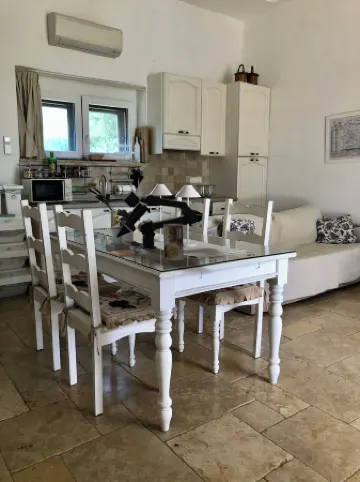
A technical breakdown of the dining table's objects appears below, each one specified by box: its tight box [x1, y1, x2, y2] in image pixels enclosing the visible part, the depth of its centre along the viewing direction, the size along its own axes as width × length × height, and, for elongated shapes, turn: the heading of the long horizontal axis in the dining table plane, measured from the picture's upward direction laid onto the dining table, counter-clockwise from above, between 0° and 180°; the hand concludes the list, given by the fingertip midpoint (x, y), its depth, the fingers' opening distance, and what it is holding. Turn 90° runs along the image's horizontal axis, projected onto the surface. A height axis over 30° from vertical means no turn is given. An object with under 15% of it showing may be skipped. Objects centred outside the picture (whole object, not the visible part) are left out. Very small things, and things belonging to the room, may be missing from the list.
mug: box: [117, 222, 135, 243], centre depth 233 cm, size 10×7×12 cm, turn 122°
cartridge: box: [111, 225, 123, 246], centre depth 211 cm, size 5×5×12 cm
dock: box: [105, 242, 136, 258], centre depth 207 cm, size 19×12×3 cm, turn 39°
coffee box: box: [162, 224, 185, 261], centre depth 189 cm, size 9×6×16 cm
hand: (116, 236), depth 210 cm, fingers closed on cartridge, 5 cm apart
